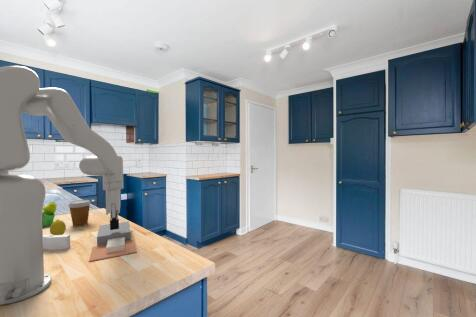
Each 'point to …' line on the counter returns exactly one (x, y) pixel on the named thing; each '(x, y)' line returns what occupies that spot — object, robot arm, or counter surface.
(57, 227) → the lemon
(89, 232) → the counter surface
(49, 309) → the counter surface
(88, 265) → the counter surface
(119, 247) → the tile
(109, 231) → the grey block
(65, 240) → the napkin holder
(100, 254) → the mat
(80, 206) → the disposable coffee cup
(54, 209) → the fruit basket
